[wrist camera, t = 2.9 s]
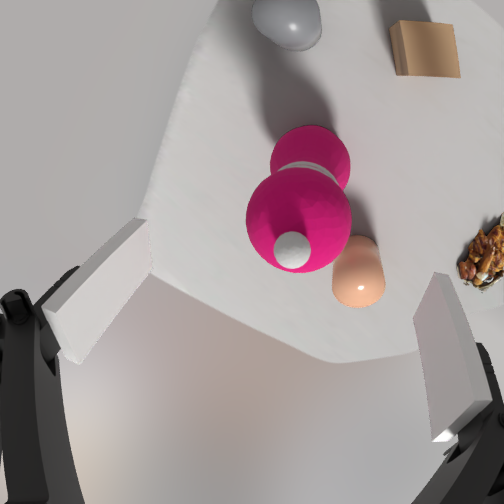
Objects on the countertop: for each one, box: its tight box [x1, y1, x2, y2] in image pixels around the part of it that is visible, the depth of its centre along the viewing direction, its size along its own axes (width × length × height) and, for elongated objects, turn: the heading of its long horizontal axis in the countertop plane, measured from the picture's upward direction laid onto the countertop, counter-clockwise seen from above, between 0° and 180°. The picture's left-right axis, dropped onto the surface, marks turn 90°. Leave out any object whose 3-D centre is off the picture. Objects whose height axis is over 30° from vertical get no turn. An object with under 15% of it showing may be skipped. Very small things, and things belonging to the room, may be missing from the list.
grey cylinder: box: [252, 0, 322, 51], centre depth 21 cm, size 5×5×8 cm
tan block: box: [389, 20, 461, 78], centre depth 20 cm, size 5×5×5 cm
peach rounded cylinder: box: [332, 235, 385, 308], centre depth 33 cm, size 6×6×6 cm
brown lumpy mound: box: [457, 212, 504, 293], centre depth 29 cm, size 7×12×4 cm, turn 162°
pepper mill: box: [246, 125, 352, 273], centre depth 23 cm, size 7×7×20 cm
